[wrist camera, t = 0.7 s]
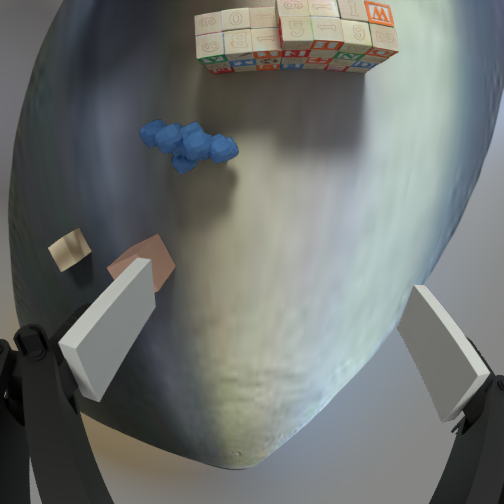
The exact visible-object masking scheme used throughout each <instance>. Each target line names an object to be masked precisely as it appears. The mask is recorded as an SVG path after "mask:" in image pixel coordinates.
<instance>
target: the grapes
mask: <svg viewBox="0 0 504 504" xmlns="http://www.w3.org/2000/svg"><path fill="white" fill-rule="evenodd" d="M139 134H140V137H141V139H142V140H143V141H144V143H145V144H146V145H147V146H148V147H149V148H150V147H153V146H155V145H157V146H158V147H159V149H160V150H161V151H162V152H163V153H164V154H165V153H168V154H170V153H173V154H174V156H173V157H172V159H171V161H172V164H173V166H174V167H175V169H176V170H177V171H178V172H179V173H180V174H183V173H185V172H188V171H190V170H192V169H193V168H195V166H196V164H197V160H198V161H201V160H205V159H208V158H209V157H210V158H211V159H212V160H213V162H214V163H215V164H217V163H219V162H225V161H228V160H230V159H233V158H234V157H236V156H237V155H238V153H239V150H238V147H237V145H236V143H235V142H234V140H233V139H232V138H231V137H229V138H226V137H225V136H222V134H221V133H220V134H217V135H214V136H212V135H208V134H207V133H205V132H204V131H203V129H202V128H201V126H200V125H199V124H198V123H197V121H196V122H193V123H190V124H188V125H186V126H184V127H182V126H181V125H180V124H179V123H175V124H170V125H167V126H166V124H165V123H164V122H163V121H162V120H161V119H160V120H158V119H157V120H154V121H152V122H150V123H148V124H146V125H144V126H143V127H142V128H141V129H140V132H139ZM196 159H197V160H196Z"/></svg>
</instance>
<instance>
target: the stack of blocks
mask: <svg viewBox="0 0 504 504" xmlns="http://www.w3.org/2000/svg"><path fill="white" fill-rule="evenodd" d="M195 36H196V55H197V59H198V60H199V61H200V62H201V63H202V64H203V65H205V67H206V68H207V69H208V70H210V71H211V73H212V74H219V73H227V72H234V71H235V72H242V71H255V70H278V69H324V70H335V71H346V72H356V73H366V72H367V71H369V70H371V68H373V67H375V66H376V65H378V64H380V63H382V62H384V61H386V60H387V59H389V57H391V56H392V55H394V54H396V53H398V52H399V47H398V42H397V36H396V30H395V28H394V21H393V17H392V13H391V9H390V6H389V5H385V4H380V3H375V2H369V1H363V0H276V1H275V7H257V8H238V9H230V10H222V11H221V12H212V13H206V14H200V15H195Z"/></svg>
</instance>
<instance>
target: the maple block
mask: <svg viewBox="0 0 504 504" xmlns="http://www.w3.org/2000/svg"><path fill="white" fill-rule="evenodd" d="M49 250H50V252H51V254H52V256H53V258H54V260H55V262H56V263H57V265H58V267H59V269H60V271H61V272H62V271H64V270H66V269H67V268H69V267H71V266H72V265H74V264H76V263H77V262H79V261H80V260H81V259H82V258H84V257H85V256H86V255H88V254H89V253H90V252H91V250H90V248H89V246H88V244H87V242H86V241H85V239H84V237H83V235H82V233H81V231H80V229H79V228H77V229H76V230H74V231H72V232H70V233H69V234H67V235H65V236H64V237H62V238H61V239H59V240H58V241H57V242H55V243H54V244H53V245H51V246H50V247H49Z"/></svg>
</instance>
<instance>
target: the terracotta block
mask: <svg viewBox="0 0 504 504" xmlns="http://www.w3.org/2000/svg"><path fill="white" fill-rule="evenodd" d="M136 258H145V259H151V264H152V275H153V286H154V293H155V292H157V291H159V290H160V288H161V287H162V285H163V284H164V282H165V281H166V280H167V278H168V277H169V275H170V274H171V272H172V271H173V270H174V268H175V267H176V265H175V264H174V262H173V260H172V258H171V256H170V254H169V253H168V251H167V249H166V247H165V245H164V243H163V242H162V240H161V238H160V236H159V234H156V235H154V236H152V237H150V238H148V239H146V240H144V241H142V242H140V243H138V244H136V245H134V246H132V247H130V248H129V249H128V250H127V251H125V252H124V253H123V254H122V255H121V256H120V257H119V258H117V259H116V260H115V261H114V262H113V263H112V264H111V265H110V266H108V267H107V269H108V271H109V272H110V274H111V276H112V277H113V279H114V281H115V280H116V278H117V277H118V276H119V275H120V274H121V273H122V272H123V271H124V270H125V269H126V268H127V267H128V266H129V265H130V264H131V263H132V262H133V261H134V260H135V259H136Z"/></svg>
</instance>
